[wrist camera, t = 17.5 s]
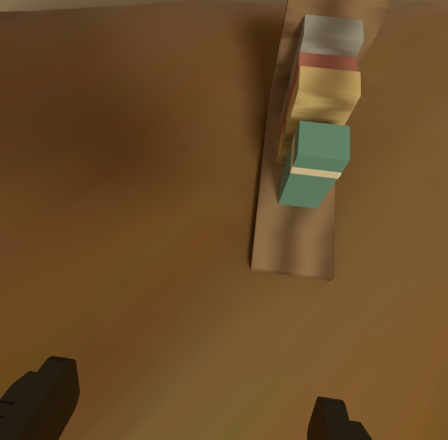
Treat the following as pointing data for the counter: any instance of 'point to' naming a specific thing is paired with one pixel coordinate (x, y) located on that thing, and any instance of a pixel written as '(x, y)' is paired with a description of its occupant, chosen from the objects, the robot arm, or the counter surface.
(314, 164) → the teal book
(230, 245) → the counter surface
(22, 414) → the robot arm
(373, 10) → the book rack
